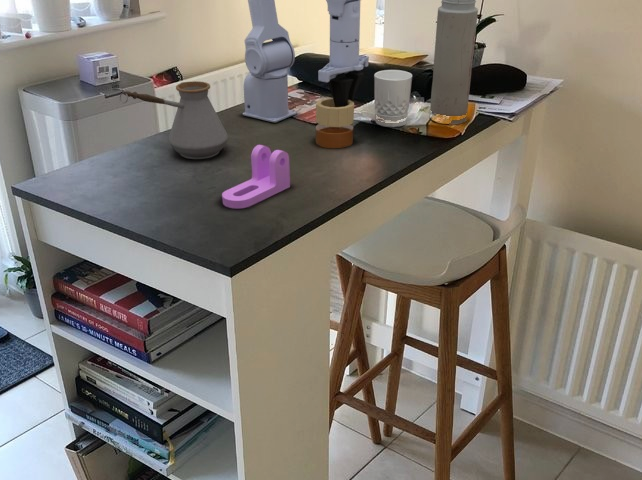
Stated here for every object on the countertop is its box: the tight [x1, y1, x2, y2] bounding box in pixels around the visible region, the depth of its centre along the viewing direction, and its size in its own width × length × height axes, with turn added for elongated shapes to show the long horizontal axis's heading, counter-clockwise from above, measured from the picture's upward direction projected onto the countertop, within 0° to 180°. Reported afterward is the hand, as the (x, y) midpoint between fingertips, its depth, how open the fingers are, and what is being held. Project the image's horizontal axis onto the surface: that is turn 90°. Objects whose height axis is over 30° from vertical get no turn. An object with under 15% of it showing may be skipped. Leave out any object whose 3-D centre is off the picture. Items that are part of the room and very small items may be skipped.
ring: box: [315, 97, 355, 127], centre depth 150 cm, size 7×7×4 cm
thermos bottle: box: [429, 0, 479, 126], centre depth 156 cm, size 8×8×28 cm
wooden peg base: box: [315, 106, 354, 149], centre depth 151 cm, size 8×8×7 cm
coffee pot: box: [119, 80, 229, 160], centre depth 141 cm, size 21×12×15 cm, turn 136°
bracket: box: [221, 144, 291, 210], centre depth 129 cm, size 13×6×7 cm, turn 142°
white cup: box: [373, 69, 413, 128], centre depth 160 cm, size 8×8×10 cm
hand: (343, 110), depth 152 cm, fingers closed on ring
